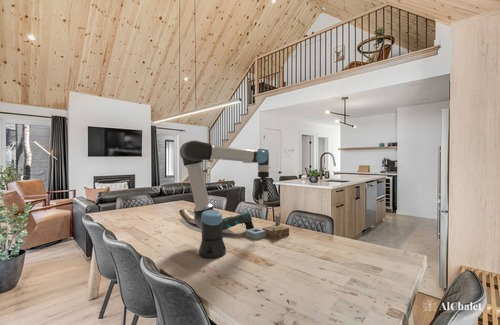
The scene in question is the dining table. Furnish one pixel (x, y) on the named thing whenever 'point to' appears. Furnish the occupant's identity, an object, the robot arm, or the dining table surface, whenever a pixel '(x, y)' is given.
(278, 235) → the socket block
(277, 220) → the steel round bar
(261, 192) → the robot arm
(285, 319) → the dining table surface
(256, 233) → the grey square holed block
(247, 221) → the gun
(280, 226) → the tan rectangular bar
